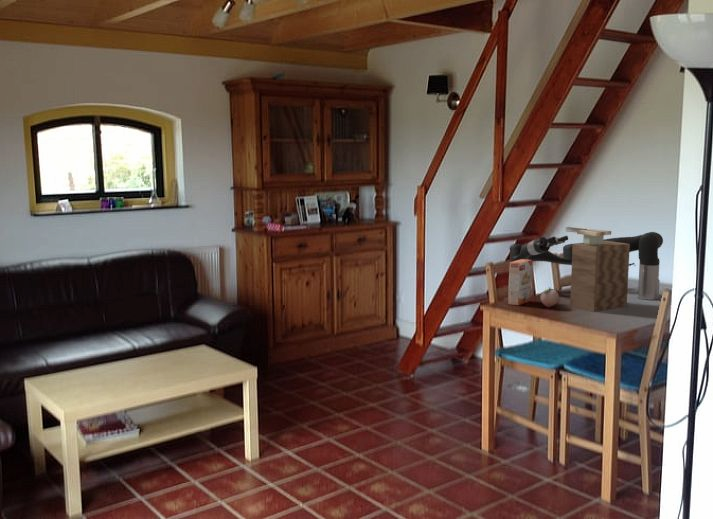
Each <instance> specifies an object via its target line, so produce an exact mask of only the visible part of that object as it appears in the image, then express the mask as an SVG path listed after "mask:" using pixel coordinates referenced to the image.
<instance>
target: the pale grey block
mask: <svg viewBox="0 0 713 519" xmlns="http://www.w3.org/2000/svg"><path fill="white" fill-rule="evenodd" d="M582 237H583V240H582V241H583V242H582V243H584V245H588V246H601V245H602V243H603V240H604V237H605V235H602V236H591V235H583V236H582Z"/></svg>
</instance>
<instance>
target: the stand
mask: <svg viewBox="0 0 713 519" xmlns="http://www.w3.org/2000/svg"><path fill="white" fill-rule="evenodd" d="M578 243H579V244H575V243H572V244H573V246H572V265H571V273H570V274H571V277H570V302H569V303H570V304H569V306H571V308H574V307H575V309H579V310H584V311H589V312H591V313H592V312H593V313H594V312H600V311H606V310H607V311H608V310H612V309H618V308H625V307H627V306H628V289H629V287H628V286H629V270H630V269H629V268H630V266H629V264H630V252H629V250H630V244H627V243H619V242H611V241H603V243H602V245H601V246H588V245H584V243H583V242H578Z"/></svg>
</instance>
